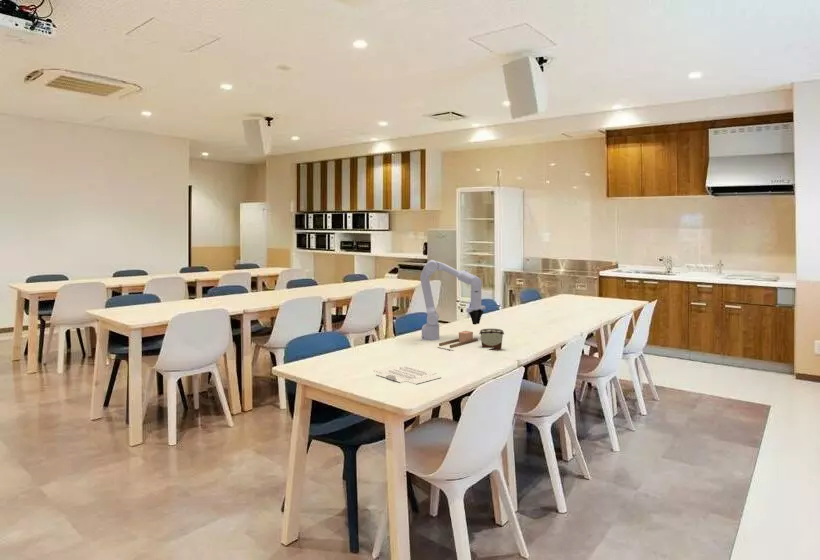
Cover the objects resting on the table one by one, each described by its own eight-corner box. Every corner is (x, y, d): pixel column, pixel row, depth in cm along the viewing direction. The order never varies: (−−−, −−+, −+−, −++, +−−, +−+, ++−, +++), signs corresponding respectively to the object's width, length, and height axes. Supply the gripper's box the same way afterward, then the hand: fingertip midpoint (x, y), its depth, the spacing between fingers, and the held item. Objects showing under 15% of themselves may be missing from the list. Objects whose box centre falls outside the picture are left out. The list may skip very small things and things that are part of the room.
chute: (437, 347, 275) (437, 343, 274) (464, 341, 290) (464, 336, 290) (452, 350, 268) (452, 345, 267) (479, 343, 284) (479, 338, 283)
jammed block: (458, 341, 283) (458, 332, 282) (465, 339, 287) (465, 330, 287) (465, 342, 279) (465, 333, 279) (472, 341, 284) (472, 331, 283)
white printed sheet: (403, 365, 242) (403, 357, 242) (447, 380, 221) (447, 371, 221) (367, 374, 229) (367, 365, 228) (410, 390, 208) (410, 381, 208)
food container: (503, 347, 273) (503, 328, 272) (504, 350, 267) (504, 330, 266) (478, 347, 275) (478, 328, 274) (479, 350, 269) (479, 330, 268)
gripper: (473, 301, 280) (473, 326, 281) (489, 298, 290) (489, 323, 291) (463, 300, 285) (463, 325, 286) (479, 297, 295) (479, 321, 296)
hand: (476, 324), depth 289 cm, fingers closed
